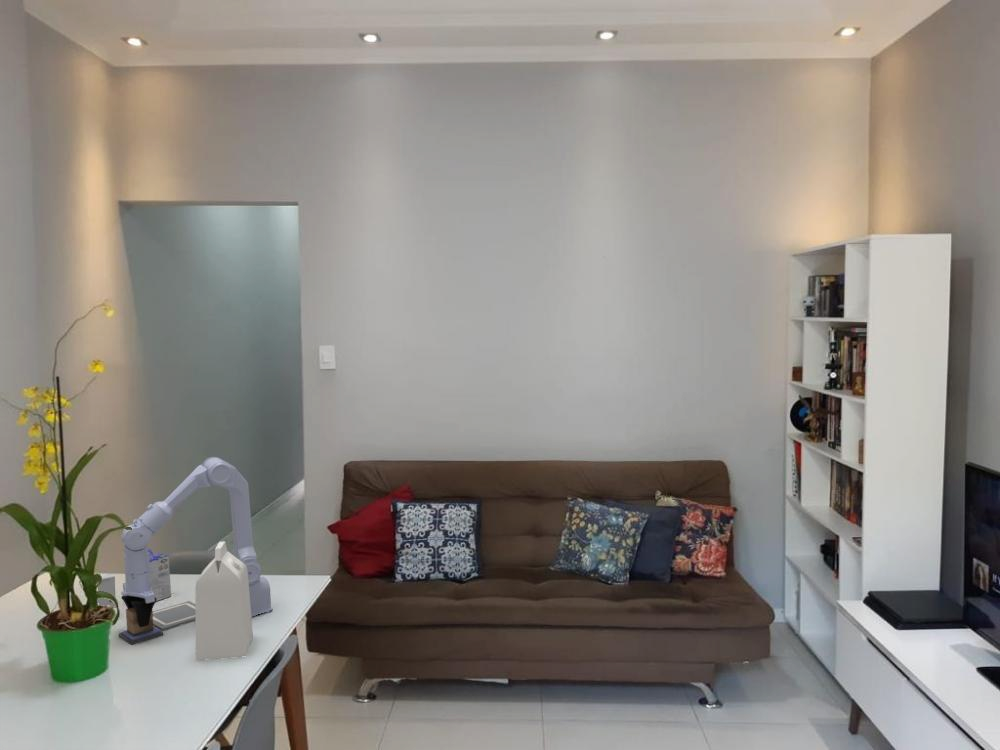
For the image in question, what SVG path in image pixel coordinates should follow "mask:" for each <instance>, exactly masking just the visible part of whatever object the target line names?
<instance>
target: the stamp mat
mask: <svg viewBox="0 0 1000 750" xmlns="http://www.w3.org/2000/svg"><path fill="white" fill-rule="evenodd" d="M152 611H153V626H154V627H155V628H157V629H159V630H160V631H162V632H164V631H166V630H169V629H173V628H176V627H179V626H183V625H185V624H189V623H192V622H195V603H194V602H192V601H190V600H188V601H183V602H180V603H177V604H174V605H171V606H167V607H164V608H160V609H157V610H152Z"/></svg>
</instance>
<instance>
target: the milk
mask: <svg viewBox="0 0 1000 750" xmlns="http://www.w3.org/2000/svg"><path fill="white" fill-rule="evenodd" d="M196 579H197V580H196V582H195V588H194V589H195V592H194V593H195V600H194V601H195V603H194V604H195V621H194V622H195V661H196V660H204V661H206V660H205V659H215V660H222V659H221V658H227V659H232V658H231V657H238V658H243V657H242V656H246V657H247V655H248V652H249V650H248V649H250V647H249V646H251V644H252V641H253V638H254V633H253V632H254V631H253V618H252V617H251V606H250V594H249V581H248V570H247V567H246V565H245V564H244V563H243V562H242V561H240V560H239V559H237V558H236V557H235V556H233V553H231V552H230V551H228V549H227V543H226V541H224V540H223V541H218V543H217V545H216V547H215V548H214V558H213V559H212V560H211V561H210V562H209V563H208V565H206V566H205V568H204V569H203V570H202V571H201V573H200V575H199V576H198V578H196ZM250 643H251V644H250Z"/></svg>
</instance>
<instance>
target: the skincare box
mask: <svg viewBox="0 0 1000 750" xmlns="http://www.w3.org/2000/svg"><path fill="white" fill-rule="evenodd" d="M99 574H100V573H99ZM100 575H101V576H102V582H101V584H100V585H99V586H98V591H105V592H108V593H110V594H112V595H113V596H114V597H115V598H116V576H115V574H114V573H113V572H107V573H102V574H100ZM98 603H99V605H104V606H107V605H110V606H113V607H114V606H115V604H114V603H113V602H112V601H111V600H108V599H104V598H99V599H98Z"/></svg>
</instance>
